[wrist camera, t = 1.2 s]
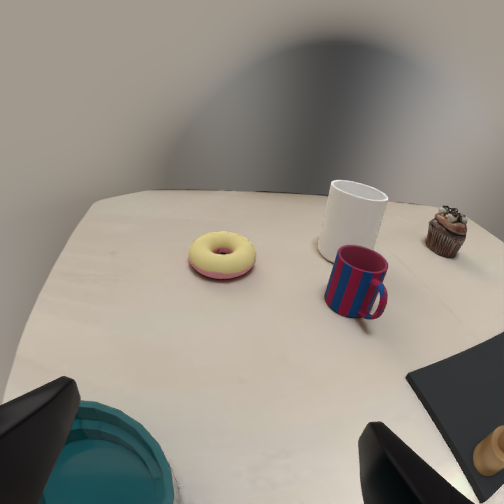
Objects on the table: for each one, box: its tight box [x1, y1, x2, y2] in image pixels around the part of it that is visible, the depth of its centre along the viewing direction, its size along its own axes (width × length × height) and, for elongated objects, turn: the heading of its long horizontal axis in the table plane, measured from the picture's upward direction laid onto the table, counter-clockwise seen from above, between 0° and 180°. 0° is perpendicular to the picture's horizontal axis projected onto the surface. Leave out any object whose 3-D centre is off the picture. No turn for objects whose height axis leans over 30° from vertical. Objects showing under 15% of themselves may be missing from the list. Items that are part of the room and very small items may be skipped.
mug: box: [318, 180, 388, 263], centre depth 48 cm, size 10×12×12 cm
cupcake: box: [426, 206, 468, 258], centre depth 55 cm, size 10×10×10 cm
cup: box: [325, 245, 388, 319], centre depth 35 cm, size 7×10×7 cm
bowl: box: [38, 401, 180, 504], centre depth 13 cm, size 12×12×4 cm
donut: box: [189, 232, 256, 279], centre depth 42 cm, size 10×5×9 cm
